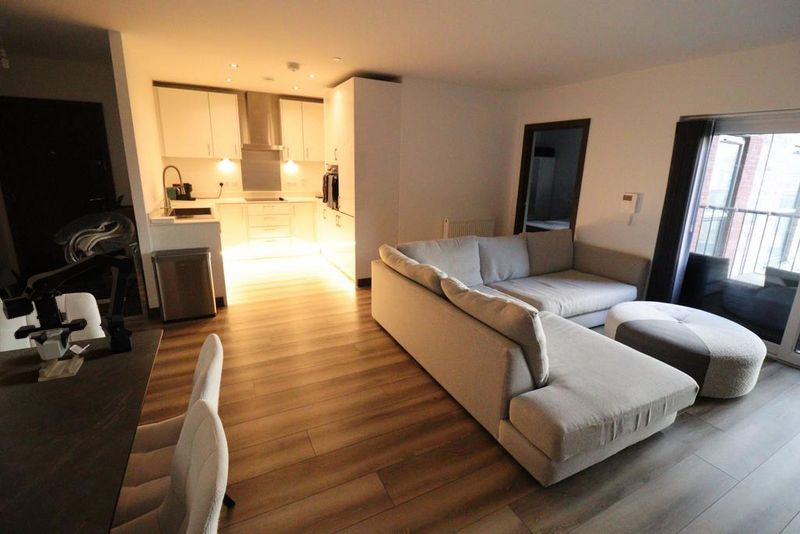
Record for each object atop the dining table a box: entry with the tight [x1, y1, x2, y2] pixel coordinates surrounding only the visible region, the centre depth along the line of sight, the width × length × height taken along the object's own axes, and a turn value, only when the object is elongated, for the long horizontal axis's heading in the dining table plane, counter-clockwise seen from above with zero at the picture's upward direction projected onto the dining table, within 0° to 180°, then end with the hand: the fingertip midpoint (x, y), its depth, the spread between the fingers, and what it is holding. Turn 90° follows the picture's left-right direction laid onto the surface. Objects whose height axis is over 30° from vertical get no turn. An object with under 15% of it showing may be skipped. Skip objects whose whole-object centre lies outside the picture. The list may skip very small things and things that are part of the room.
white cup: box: [33, 330, 62, 361], centre depth 147 cm, size 8×8×10 cm
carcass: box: [37, 353, 85, 383], centre depth 137 cm, size 10×12×6 cm
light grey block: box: [43, 331, 70, 361], centre depth 135 cm, size 4×9×6 cm, turn 26°
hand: (57, 349), depth 136 cm, fingers closed on light grey block, 4 cm apart
